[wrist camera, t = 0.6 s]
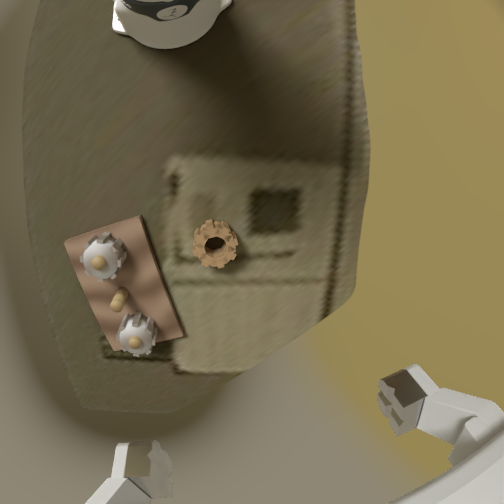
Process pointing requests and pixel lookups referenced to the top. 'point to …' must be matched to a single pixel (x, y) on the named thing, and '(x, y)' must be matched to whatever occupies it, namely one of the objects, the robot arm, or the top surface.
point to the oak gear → (217, 255)
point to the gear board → (124, 286)
